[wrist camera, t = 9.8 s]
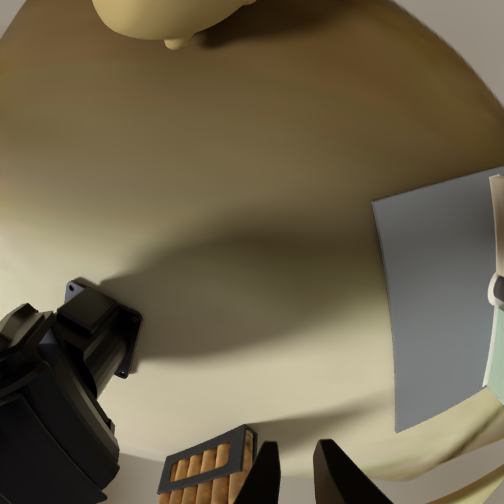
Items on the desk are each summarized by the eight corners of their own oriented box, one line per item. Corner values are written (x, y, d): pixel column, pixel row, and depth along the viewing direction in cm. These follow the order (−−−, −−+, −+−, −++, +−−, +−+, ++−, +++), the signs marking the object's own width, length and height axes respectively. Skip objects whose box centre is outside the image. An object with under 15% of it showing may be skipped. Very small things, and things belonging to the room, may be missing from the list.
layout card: (370, 201, 17) (374, 202, 17) (502, 165, 16) (506, 165, 16) (394, 430, 22) (396, 433, 22) (495, 376, 21) (498, 379, 21)
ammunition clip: (178, 465, 24) (157, 556, 12) (165, 457, 24) (139, 549, 12) (258, 433, 22) (258, 551, 11) (244, 423, 22) (238, 545, 10)
